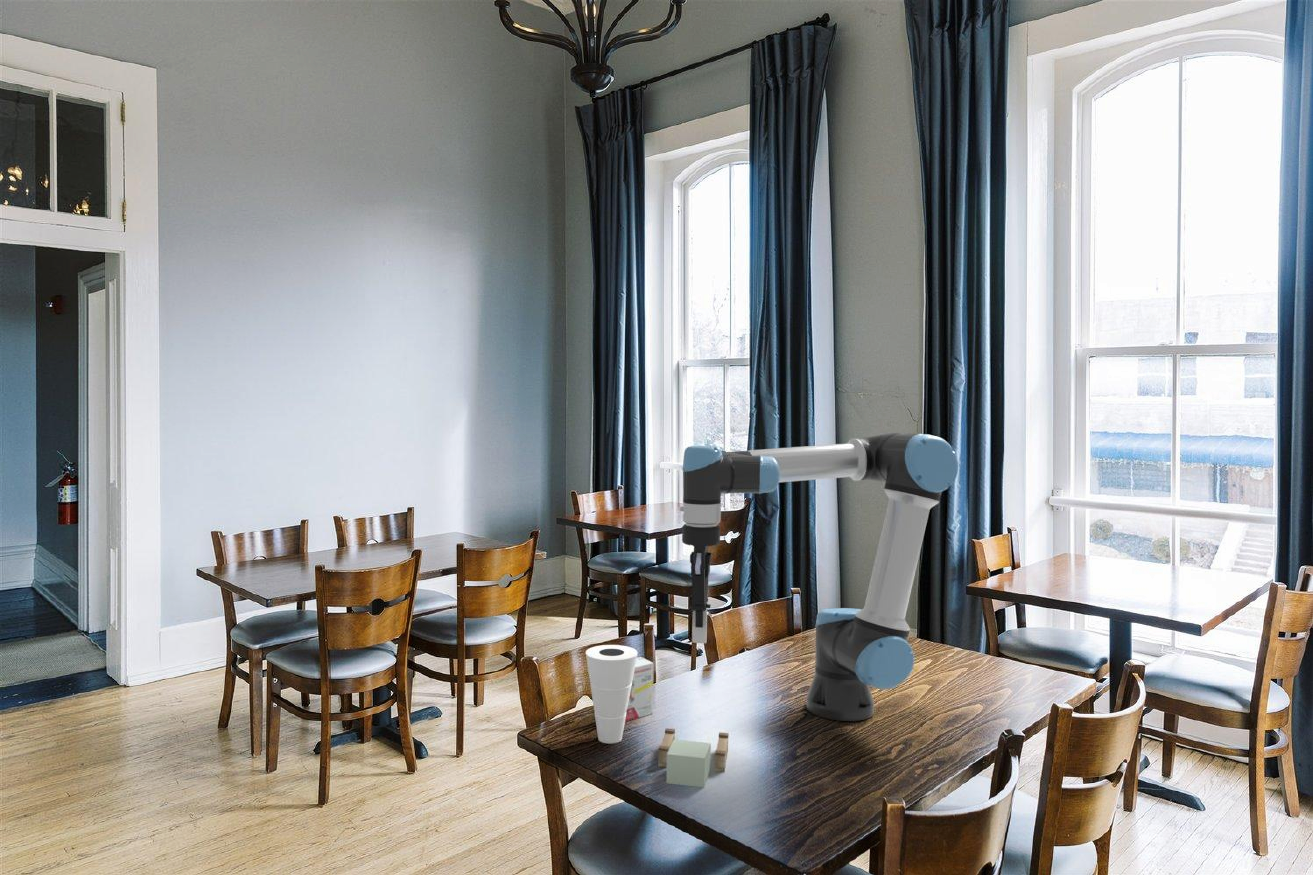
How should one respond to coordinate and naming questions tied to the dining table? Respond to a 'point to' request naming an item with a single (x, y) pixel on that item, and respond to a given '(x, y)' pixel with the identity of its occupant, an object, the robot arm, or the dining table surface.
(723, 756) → the light wood low frame
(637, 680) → the ink box
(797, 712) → the dining table surface
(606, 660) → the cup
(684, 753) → the block
